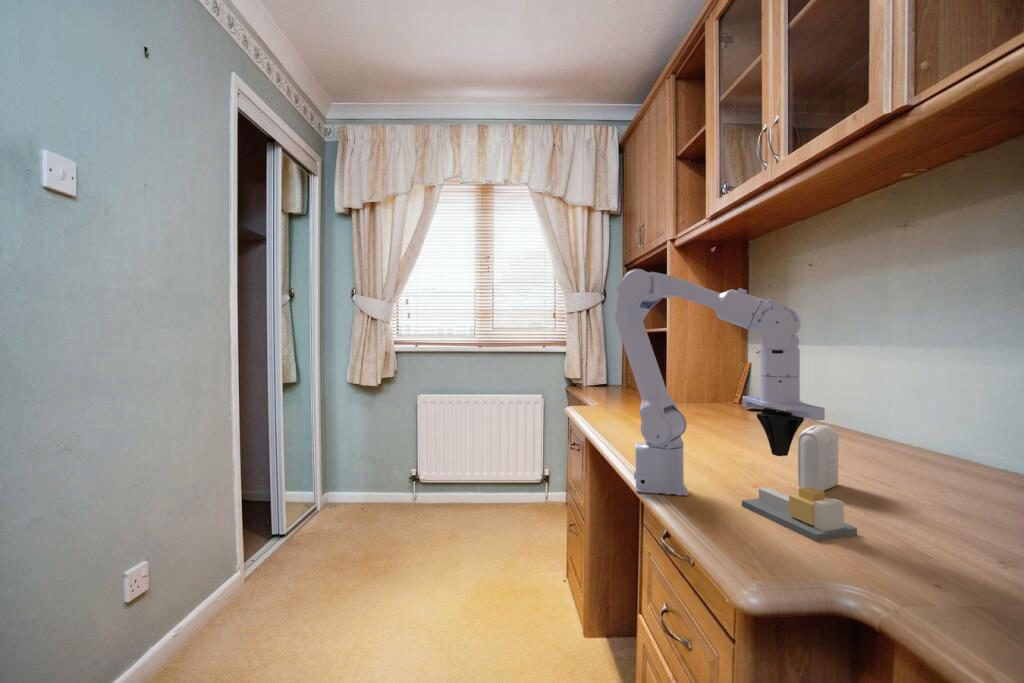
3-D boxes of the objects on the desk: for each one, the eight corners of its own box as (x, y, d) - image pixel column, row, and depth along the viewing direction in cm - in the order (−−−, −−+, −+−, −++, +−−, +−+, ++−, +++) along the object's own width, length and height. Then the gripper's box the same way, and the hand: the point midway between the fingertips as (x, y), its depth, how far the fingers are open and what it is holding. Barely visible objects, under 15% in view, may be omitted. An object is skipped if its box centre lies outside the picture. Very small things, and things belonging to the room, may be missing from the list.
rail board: (741, 506, 77) (741, 478, 77) (777, 501, 79) (777, 474, 79) (816, 541, 63) (816, 507, 63) (857, 534, 65) (856, 501, 65)
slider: (789, 515, 69) (788, 487, 69) (811, 511, 70) (811, 484, 70) (812, 525, 65) (812, 496, 65) (835, 521, 67) (835, 493, 67)
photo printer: (817, 479, 91) (817, 420, 91) (841, 484, 87) (841, 424, 87) (794, 488, 85) (794, 426, 85) (819, 495, 81) (819, 430, 81)
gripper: (839, 378, 68) (839, 464, 68) (763, 372, 82) (764, 443, 82) (804, 380, 66) (804, 468, 66) (732, 373, 80) (733, 446, 80)
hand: (779, 455), depth 74 cm, fingers closed
